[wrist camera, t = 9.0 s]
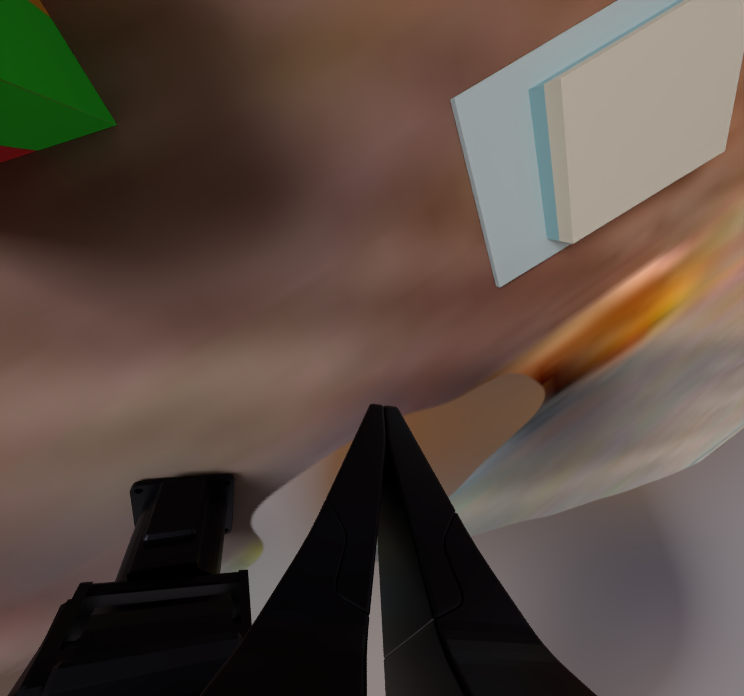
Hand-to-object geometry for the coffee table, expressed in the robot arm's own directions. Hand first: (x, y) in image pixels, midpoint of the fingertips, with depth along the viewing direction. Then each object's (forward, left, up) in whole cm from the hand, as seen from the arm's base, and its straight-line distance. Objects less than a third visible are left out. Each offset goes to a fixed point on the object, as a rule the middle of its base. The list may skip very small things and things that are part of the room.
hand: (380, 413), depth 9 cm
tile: (+10, -12, -10) cm, 19 cm away
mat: (+13, -16, -12) cm, 23 cm away
